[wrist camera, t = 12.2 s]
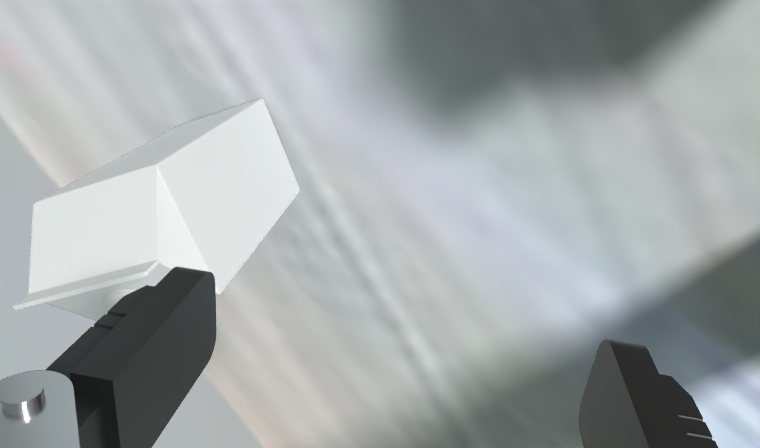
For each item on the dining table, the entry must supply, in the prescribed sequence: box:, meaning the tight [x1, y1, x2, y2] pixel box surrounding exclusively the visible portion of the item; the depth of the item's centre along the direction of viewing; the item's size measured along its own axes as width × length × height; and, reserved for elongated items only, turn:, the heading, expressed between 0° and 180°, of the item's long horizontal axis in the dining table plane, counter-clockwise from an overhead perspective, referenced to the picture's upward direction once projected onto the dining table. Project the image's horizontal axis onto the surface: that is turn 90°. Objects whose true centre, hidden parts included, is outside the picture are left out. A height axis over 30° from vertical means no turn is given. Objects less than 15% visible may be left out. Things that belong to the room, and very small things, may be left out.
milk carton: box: [12, 99, 300, 321], centre depth 33 cm, size 7×7×19 cm
